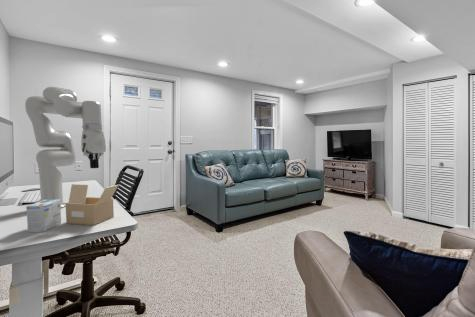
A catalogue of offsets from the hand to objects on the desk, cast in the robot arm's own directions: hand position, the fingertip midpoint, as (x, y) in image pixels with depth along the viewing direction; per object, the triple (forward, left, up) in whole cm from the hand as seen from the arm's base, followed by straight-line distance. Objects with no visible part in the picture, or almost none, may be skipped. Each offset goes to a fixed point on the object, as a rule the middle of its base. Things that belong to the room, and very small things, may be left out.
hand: (94, 168), depth 113 cm
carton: (+1, -4, -24) cm, 24 cm away
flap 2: (+10, -4, -11) cm, 15 cm away
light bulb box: (-11, -16, -24) cm, 30 cm away
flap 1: (0, -9, -10) cm, 14 cm away
